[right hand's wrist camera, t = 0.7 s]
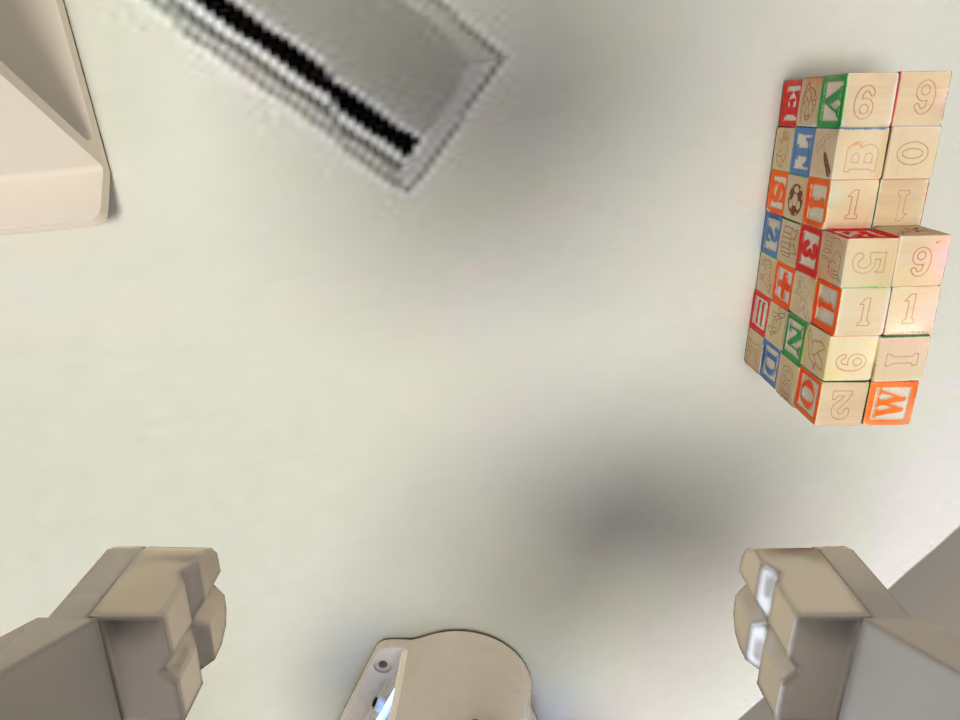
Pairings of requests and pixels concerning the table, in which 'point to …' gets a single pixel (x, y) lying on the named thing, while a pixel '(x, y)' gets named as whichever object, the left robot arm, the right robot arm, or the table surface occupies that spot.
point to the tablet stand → (46, 125)
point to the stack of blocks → (850, 247)
